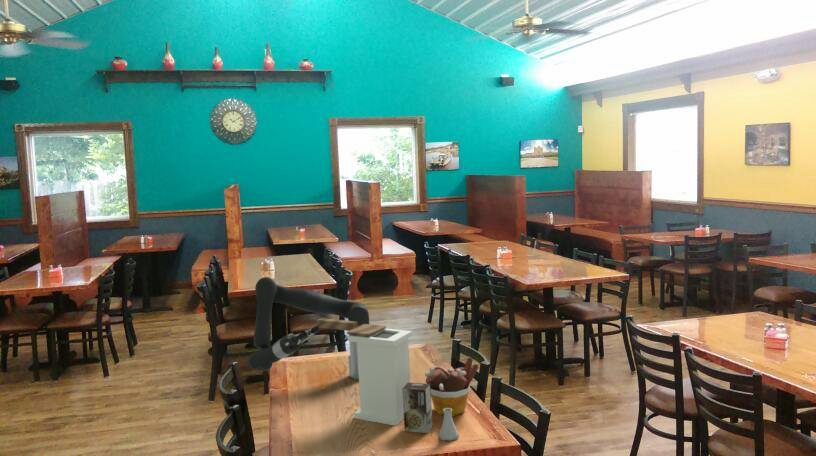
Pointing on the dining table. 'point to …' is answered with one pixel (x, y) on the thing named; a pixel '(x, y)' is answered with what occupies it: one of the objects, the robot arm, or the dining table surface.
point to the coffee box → (417, 407)
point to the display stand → (382, 375)
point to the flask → (448, 427)
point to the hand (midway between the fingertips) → (312, 330)
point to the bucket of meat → (450, 387)
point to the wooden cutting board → (350, 327)
